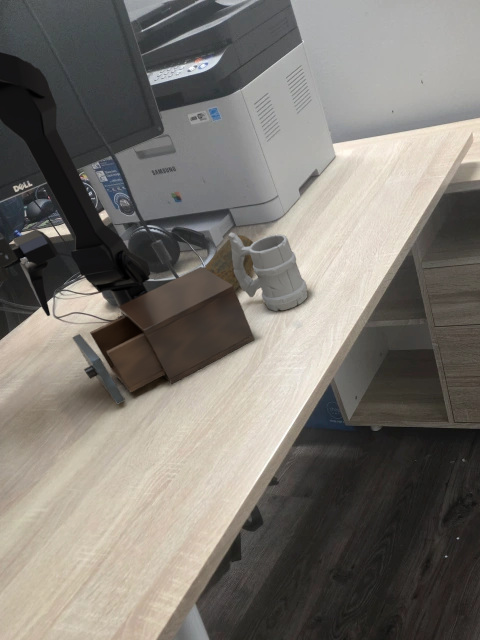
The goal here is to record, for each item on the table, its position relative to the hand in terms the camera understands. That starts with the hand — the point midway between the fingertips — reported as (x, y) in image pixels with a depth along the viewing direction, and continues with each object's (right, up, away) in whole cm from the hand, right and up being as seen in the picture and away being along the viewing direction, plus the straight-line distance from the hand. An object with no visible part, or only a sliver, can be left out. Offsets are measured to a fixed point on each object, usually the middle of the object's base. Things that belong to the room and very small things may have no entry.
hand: (21, 328), depth 92 cm
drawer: (+14, -4, +9) cm, 17 cm away
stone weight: (+24, +15, +27) cm, 40 cm away
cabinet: (+22, 0, +12) cm, 25 cm away
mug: (+33, +9, +18) cm, 39 cm away
